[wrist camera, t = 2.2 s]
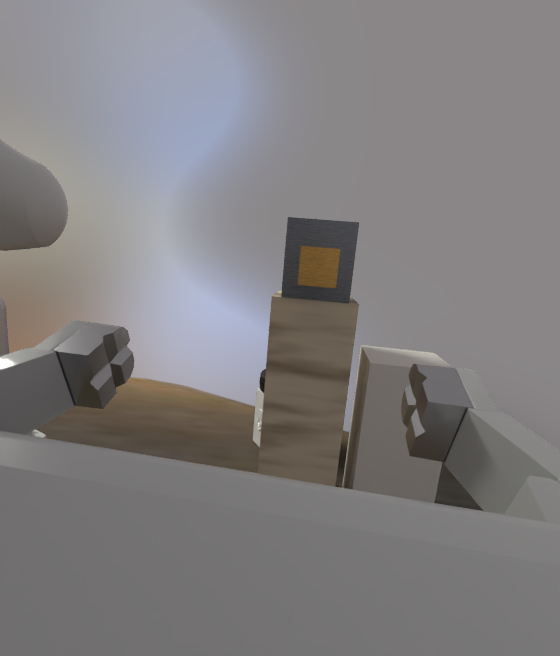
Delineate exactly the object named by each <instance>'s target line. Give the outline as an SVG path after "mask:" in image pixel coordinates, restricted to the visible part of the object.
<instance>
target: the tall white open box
mask: <svg viewBox="0 0 560 656" xmlns="http://www.w3.org/2000/svg"><path fill="white" fill-rule="evenodd" d="M413 364H422V365H431V366H441V367H450V368H453V367H451V366H450V365H449V364H447V363H446V362H445V361H443V360H442V359H441V358H440V357H438V356H437V355H436V354H435V353H429V352H420V351H410V350H402V349H392V348H383V347H373V346H364V345H362V346H361V351H360V359H359V366H358V373H357V381H356V389H355V396H354V403H353V411H352V418H351V426H350V433H349V441H348V448H347V456H346V463H345V470H344V478H343V488H346V489H352V490H358V491H364V492H370V493H376V494H382V495H388V496H394V497H400V498H406V499H412V500H418V501H424V502H431V503H434V501H435V496H436V491H437V486H438V480H439V475H440V470H441V465H442V462H439V461H434V460H428V459H423V458H417V457H412V456H409V451H408V446H407V442H406V437H405V435H406V432H407V429H408V428H407V427H406V426H405V425H404V424H403V421H402V415H401V405H402V397H403V393H404V389H405V388H406V387H408V386H409V385H411V384H410V380H409V372H410V369H411V367H412V365H413Z"/></svg>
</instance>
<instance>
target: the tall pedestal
mask: <svg viewBox="0 0 560 656" xmlns="http://www.w3.org/2000/svg"><path fill="white" fill-rule="evenodd" d="M281 293H282V290H280V291H278V292H277V293H275V294H274V295H273V296H272V302H271V313H270V326H269V339H268V351H267V363H266V376H265V388H264V400H263V413H262V425H261V438H260V450H259V463H258V474H263V475H269V476H275V477H281V478H287V479H293V480H299V481H305V482H311V483H317V484H322V485H328V486H334V487H335V485H336V478H337V470H338V462H339V455H340V447H341V439H342V431H343V424H344V416H345V408H346V401H347V393H348V385H349V377H350V370H351V362H352V354H353V346H354V339H355V331H356V322H357V315H358V307H359V304H358V303H357V302H356V301H355V300H354V299H353V298H352V297H350V300H349V304H348V303H337V302H327V301H316V300H306V299H296V298H285V297H281Z"/></svg>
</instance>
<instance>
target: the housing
mask: <svg viewBox="0 0 560 656" xmlns="http://www.w3.org/2000/svg"><path fill="white" fill-rule="evenodd" d="M358 227H359V223H358V222H345V221H331V220H318V219H305V218H291V217H288V223H287V235H286V247H285V258H284V270H283V282H282V283H283V284H282V293H281V297H285V298H296V299H306V300H316V301H327V302H337V303H348V304H349V300H350V292H351V283H352V275H353V268H354V260H355V251H356V243H357V235H358Z"/></svg>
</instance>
